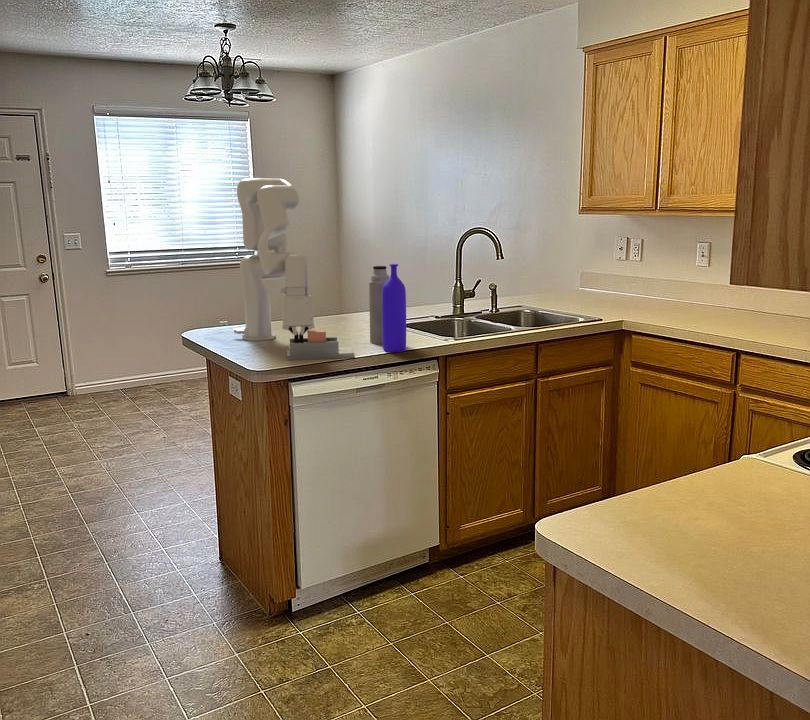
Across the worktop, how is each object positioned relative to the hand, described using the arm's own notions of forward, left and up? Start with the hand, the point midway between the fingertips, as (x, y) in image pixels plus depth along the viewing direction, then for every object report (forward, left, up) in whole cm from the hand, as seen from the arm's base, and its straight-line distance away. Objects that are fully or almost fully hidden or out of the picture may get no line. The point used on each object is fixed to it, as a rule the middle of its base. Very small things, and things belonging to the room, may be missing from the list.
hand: (299, 346), depth 250 cm
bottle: (+33, +5, -4) cm, 34 cm away
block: (+6, 0, -2) cm, 6 cm away
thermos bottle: (+30, +21, -4) cm, 37 cm away
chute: (+7, 0, -4) cm, 8 cm away
